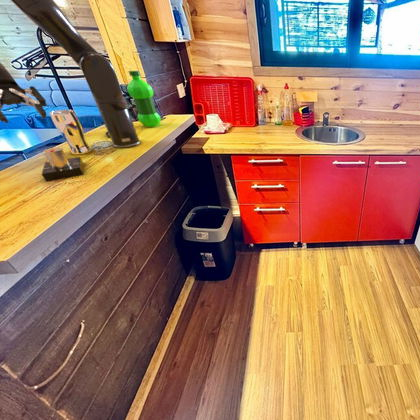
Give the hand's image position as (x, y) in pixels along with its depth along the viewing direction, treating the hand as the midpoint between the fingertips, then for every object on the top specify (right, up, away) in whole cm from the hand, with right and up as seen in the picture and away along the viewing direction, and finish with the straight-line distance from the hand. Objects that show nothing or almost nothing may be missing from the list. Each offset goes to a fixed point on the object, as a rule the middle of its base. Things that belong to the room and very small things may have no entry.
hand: (26, 118), depth 80 cm
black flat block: (+8, -16, +5) cm, 18 cm away
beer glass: (-1, -6, +20) cm, 21 cm away
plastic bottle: (+4, +15, +52) cm, 54 cm away
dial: (+9, -14, +2) cm, 17 cm away
